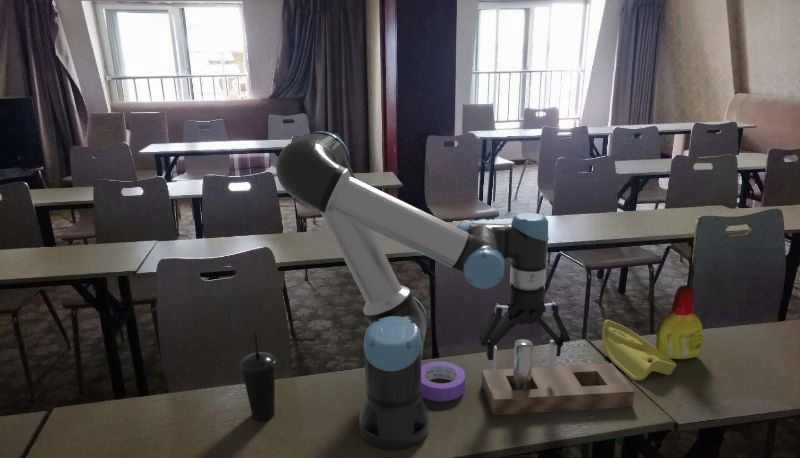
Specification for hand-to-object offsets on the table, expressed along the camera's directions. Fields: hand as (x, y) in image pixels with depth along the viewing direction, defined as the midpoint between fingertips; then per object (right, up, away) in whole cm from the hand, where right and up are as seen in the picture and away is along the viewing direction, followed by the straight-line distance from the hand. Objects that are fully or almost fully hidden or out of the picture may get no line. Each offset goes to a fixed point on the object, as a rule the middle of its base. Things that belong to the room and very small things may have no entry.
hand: (522, 369), depth 130 cm
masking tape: (-18, -6, +7) cm, 20 cm away
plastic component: (+33, -2, +17) cm, 37 cm away
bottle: (+44, -1, +19) cm, 48 cm away
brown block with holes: (+8, -7, +3) cm, 11 cm away
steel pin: (0, -7, +2) cm, 7 cm away
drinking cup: (-59, -10, -2) cm, 59 cm away
